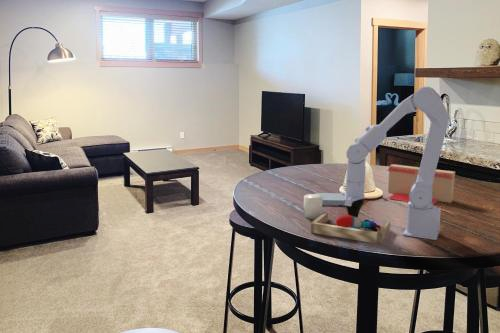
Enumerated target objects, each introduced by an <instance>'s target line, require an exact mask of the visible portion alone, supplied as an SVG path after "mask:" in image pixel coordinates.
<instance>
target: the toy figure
mask: <svg viewBox="0 0 500 333" xmlns="http://www.w3.org/2000/svg"><path fill="white" fill-rule="evenodd" d="M335 224H336V226H341V227H347V228H354V229H360V230H362V229H367V230H370V231H373V232H378V231H379V230H380V229H381V227H382V226H381V225H379V224H377V222H376V221H374V220H370V219H364V220H363V221H362V220H361V219H360V218H359V217H358V218H357V217H354V216H351V215H348V214H345V215H341V216H339V217H337V218H336V221H335Z"/></svg>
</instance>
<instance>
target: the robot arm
mask: <svg viewBox="0 0 500 333" xmlns="http://www.w3.org/2000/svg"><path fill="white" fill-rule="evenodd" d="M417 110H419V111H420V112H422V113H424V115H426V118H428V120H429V121H430V126H429V128H428V129H429V130H428V134H427V138H426V141H425V146H424V149H423V152H422V158H421V161H420V164H419V165H420V166H419V167H420V168H419V172H418V176H417V180H416V182H415V183H414V184H413V185H412V187H411V192H410V195H409V200H410V201H409V202H407V210H406V211H407V212H406V224H405V225H406V227H405V230H404V231H403V232H402V235H403V236H407V237H411V238H421V239H425V240H433V241H436V240H438V236H439V234H440V232H441V210H442V209H441V208H440V207H437V206H434V204H433V203H432V192H433V190H432V184H433V179H434V175H435V171H436V170H437V166H438V163H439V159H440V155H441V152H442V148H443V145H444V140H445V138H446V137H445V136H446V133H447V129H448V125H449V121H450V116H449V112H448V111H447V109H446V106H445V104H444V102H443V99H442V97H441V95H440V94H439V93H438V92H437V91H436V90H435V89H434V88H432V87H431V86H422V87H420V88H418V89H417V90H416V91H415V92H414V93H413V94H411V95H410V96H408V97H407V98H405V99H404V100H402V101H401V102H400V103H399V104H398V105H397V106H396V107H395V108H394V109H393V110H392V111H391V112H390V113H389V114H388V115H387V116H386V117H385V118H384V119H383V120H382V121H380V123H379V124H372V125H371V126H367V127H366V128H365V132H363V134H361V135H360V137H357V138H355V139H354V143H352V144H351V145H350V146H349V147H348V148H347V150H346V158H347V166H346V176H345V178H346V181H345V191H342V192H341V193H342V195H344V196H345V200H344V205H345V206H344V207H345V208H346V210H347V215H351V216H354V217H357V218H359V215H360V210H361V208H362V206H363V205H364V203H365V199H364V198H365V184H366V183H365V181H366V169H367V168H366V167H367V166H366V158H367V157H368V154H369V153H372V152H373V151H374V150H375V149H376V148H377V147H378V146H379V145H381V143H383V142H384V141H385V140H386V139H387V132H389V130H390V129H391V128H392V127H394V125H396V124H397V123H398V122H399V121H400V120H401V119H402V118H403V117H405V115H407V114H411V113H414V112H417Z"/></svg>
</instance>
